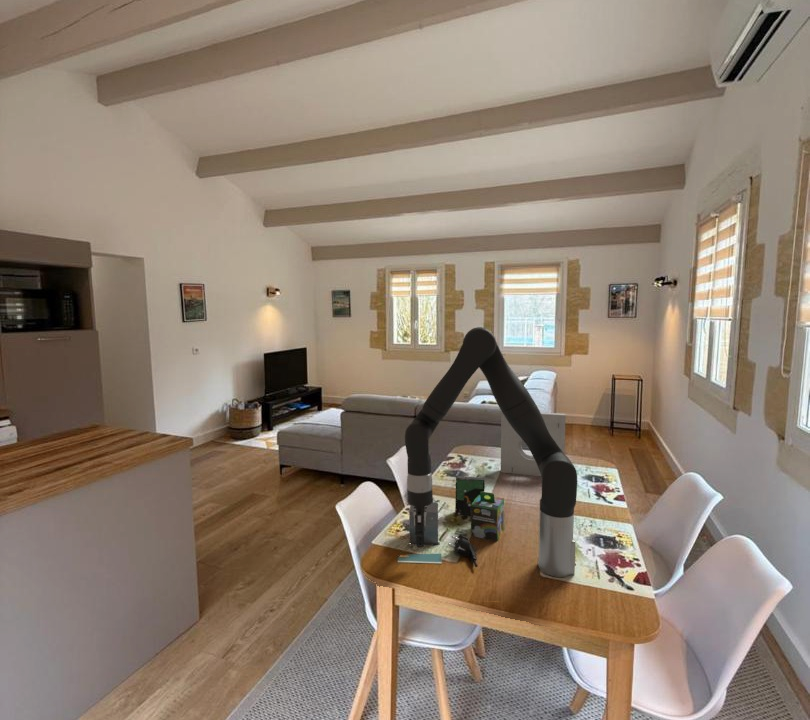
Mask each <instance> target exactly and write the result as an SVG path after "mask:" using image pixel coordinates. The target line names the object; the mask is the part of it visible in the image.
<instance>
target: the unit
mask: <svg viewBox="0 0 810 720" xmlns="http://www.w3.org/2000/svg"><path fill="white" fill-rule="evenodd" d="M414 507H415V506H412V505H410V504H409V513H408V515H409V518H408V522H409V523H408V527H409V528H408V529H409V543H411V544H410V545H412V544H414V545H415V544H416V536H415V526H414V515H413V510H414ZM425 507H427V516H426V526H425V534H424V546H440V545H441V542H440V541H439V503H438V502H432V503H431V504H430V505H428V506H425ZM417 531H418V529H417ZM414 545H413V546H414ZM415 546H416V545H415Z"/></svg>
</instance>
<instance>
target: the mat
mask: <svg viewBox="0 0 810 720" xmlns="http://www.w3.org/2000/svg"><path fill="white" fill-rule="evenodd" d="M406 555H408V556H409V557H397V563H399V564H426V565H429V564H430V565H442V564H443V562H442V556H443V555H442V553H411V554H410V553H408V554H407V553H406Z"/></svg>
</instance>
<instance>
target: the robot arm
mask: <svg viewBox="0 0 810 720" xmlns="http://www.w3.org/2000/svg"><path fill="white" fill-rule="evenodd" d="M478 369H480V371H481V373H482V374H483V375H484V377H485V379H486V380H487V383H488V385H489V387H490V391H491V392H492V395H493V397H494V399H495V401H496V404H497V406H498V408H499V409H500V412H501V411H502V413H503V414H504V416H505V417H506V419H507V421H508V422H509V424H510V425H511V426H512V428H513V429H514V430H515V432H516V433H517V434H518V435H519V436H520V437H521V438H522V440H523V441H522V442H524V443H525V444H526V446H527V447H528V449H529V451H530V454H531V455H532V456H533V457H534V459H535V461H536V463H537V466H538V468H539V471H540V474H541V476H540V477H541V497H540V499H539V521H538V522H539V524H538V527H539V528H538V529H539V531H538V557H537V558H538V560H537V561H538V564H537V565H538V568H539V570H541V572H543V574H546V575H548V576H552V577H556V578H565V577H569V576H570V575H575V572H576V571H575V570H576V566H575V565H576V564H575V563H576V541H575V539H574V520H575V507H576V505H577V492H578V473H577V469H576V467H575V465H574V464H573V462H572V461H571V460H570V458H569V457H568V456H567V455H566V454H565V452H564V453H563V451H562V450H561V449H560V447H559V446H558V445H557V443H556V442H555V441H554V439H553V438H552V436H551V435H550V433H549V431H548V429H547V427H546V424H545V422H544V419H543V417H542V415H541V413H542V412H541V411H540V409H539V407H538V405H537V404H536V402H535V400H534V398H533V397H532V396H531V394H530V392H529V391H528V389H527V387H525V385H524V384H523V382H522V381H521V380H520V379H519V377H518V376H517V375H516V373H515V372H514V371H513V370H512V368H511V367H510V366H509V363H507V360H506V359H505V357H504V355H503V353H502V351H501V349H500V347H499V345H498V342H497V340H496V337H495V335H494V334H493V332H492V331H491V330H490V329H489V328H486V327H481V326H478V327H473V328H471V329H470V330H468V331H467V333H466V334H465V335H464V337H463V340H462V344H461V346H460V349H459V351H458V353H457V356H456V357H455V359H454V361H453V362H452V365H451V366H450V367H449V369H448V370H447V372H445V374H444V375H443V377H442V378H441V379H440V380H439V382H438V383H437V384H436V386H435V387H434V388H433V390H432V391H431V393H430V394H429V395H428V397H427V399H426V400H425V401H424V403H423V405H422V407H421V410H420V411H419V412H418V413H417V415H416V416H415V418H414V419H413V420H412V421H411V423H410V424H409V425H408V426H407V427H406V429H405V433H404V443H405V444H404V445H405V450H406V451H405V452H406V456H407V476H406V487H407V488H406V489H407V490H406V494H407V498H406V499H407V503H408V505H409V506H410V505H412V506H415V507H414V510H413V515H414V526H415V536H416V545H415V546H416V547H417V548H424V546H425V545H424V534H425V526H426V516H427V507H425V506H428V505H430V504H431V503H433V502H434V501H433V497H434V496H433V495H434V494H433V476H432V475H433V474H432V458H431V455H430V451H429V449H430V446H429V442H430V441H429V439H430V438H431V437H432V435H433V433H434V431H435V430H436V428H437V427H438V426H439V423H440V422H441V421H443V419H444V418H445V416H446V415H447V414H448V412H449V411H450V410H451V408H452V406H453V405H454V403H455V402H456V401H457V399H458V397H459V395H460V394H461V392H462V390H463V389H464V387H465V386H466V385H467V383H468V382H469V380H470V379H471V378H472V377H473V375H474V374H475V373H476V371H477V370H478ZM417 529H418V531H417Z"/></svg>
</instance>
